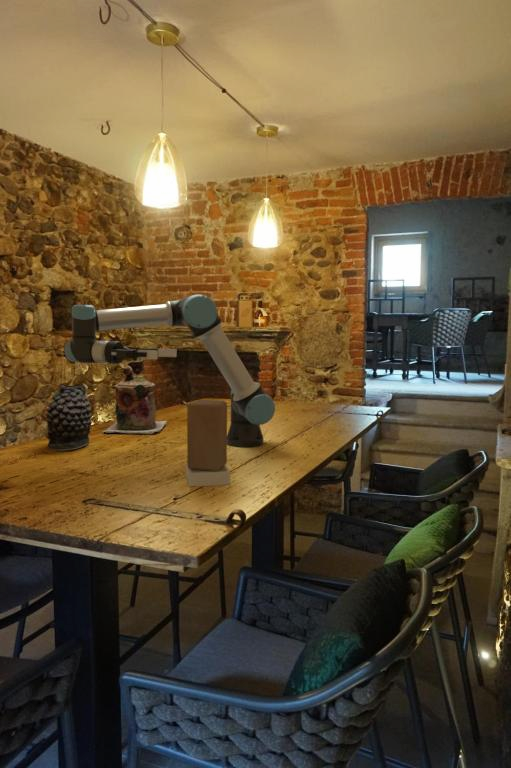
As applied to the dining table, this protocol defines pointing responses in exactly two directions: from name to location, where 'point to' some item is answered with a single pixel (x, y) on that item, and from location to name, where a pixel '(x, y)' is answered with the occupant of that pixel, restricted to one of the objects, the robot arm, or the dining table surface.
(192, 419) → the block
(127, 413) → the cookie jar
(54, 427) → the studded ceramic pot
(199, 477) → the tray
